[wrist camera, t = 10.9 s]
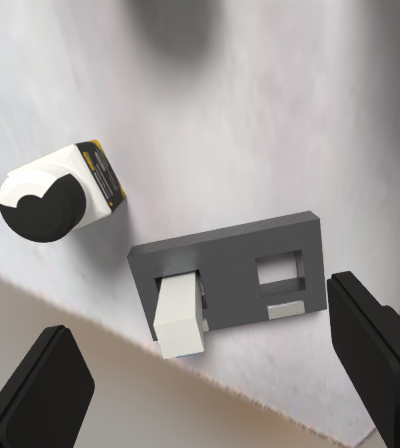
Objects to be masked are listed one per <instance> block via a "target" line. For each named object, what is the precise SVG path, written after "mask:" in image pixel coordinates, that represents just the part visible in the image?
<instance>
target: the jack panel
mask: <svg viewBox="0 0 400 448" xmlns="http://www.w3.org/2000/svg"><path fill="white" fill-rule="evenodd" d="M291 251H295V255H296V264H297V273H298V278H293V279H287V280H282V281H277V282H272V283H266V284H261V285H259V279H258V273H257V267H256V261H255V258H260V257H265V256H270V255H276V254H281V253H286V252H291ZM127 258H128V262H129V265H130V268H131V271H132V274H133V277H134V281H135V284H136V287H137V290H138V293H139V297H140V300H141V303H142V306H143V309H144V312H145V316H146V319H147V322H148V325H149V328H150V332H151V335H152V338H153V341H157V340H158V339H157V336H156V332H155V329H154V326H153V325H154V319H155V314H156V309H157V304H158V299H159V294H160V289H161V279H160V277H163V276H168V275H173V274H178V273H183V272H188V271H193V270H199V271H200V276H201V280H202V284H203V288H204V293H205V295H203V296H202V316H203V332H206V331H211V330H217V329H222V328H228V327H233V326H239V325H244V324H249V323H255V322H260V321H266V320H271V319H276V318H282V317H287V316H293V315H298V314H304V313H309V312H314V311H320V310H325V309H327V302H326V290H325V277H324V265H323V253H322V241H321V228H320V218H318V217H317V216H316V215H315V214H313V213H312V212H311V211H306V212H301V213H296V214H291V215H286V216H281V217H276V218H271V219H266V220H262V221H257V222H252V223H247V224H242V225H237V226H232V227H227V228H222V229H217V230H212V231H207V232H202V233H197V234H192V235H187V236H182V237H177V238H172V239H167V240H162V241H157V242H152V243H147V244H142V245H137V246H132V248H131V250H130V252H129V254H128V256H127Z"/></svg>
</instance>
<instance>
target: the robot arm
mask: <svg viewBox="0 0 400 448" xmlns="http://www.w3.org/2000/svg"><path fill="white" fill-rule="evenodd" d="M327 292H328V303H329V315H330V326H331V337H332V344H333V347H334V350H335V352H336V354H337V356H338V358H339V359H340V361H341V363H342V365H343V367H344V369H345V370H346V372H347V374H348V376H349V378H350V380H351V381H352V383H353V385H354V387H355V389H356V391H357V393H358V394H359V396H360V398H361V400H362V402H363V404H364V405H365V407H366V409H367V411H368V413H369V415H370V416H371V418H372V420H373V422H374V424H375V426H376V428H377V429H378V431H379V433H380V435H381V437H382V439H383V440H384V442H385V444H386V446H387V448H400V316H399V315H398V314H397V312H396V311H395V310H394V309H393V308H391V307H390V306H387V305H386V306H381V305H380V304H379V302H378V301H377V300H376V299H375V298H374V297H373V296H372V295H371V293H370V292H369V291H368V290H367V289H366V288H365V287H364V286H363V285H362V283H361V282H360V281H359V280H358V279H357V278H356V277H355V276H354V275H353V273H352V272H350V271H346V272H341V273H335V274H332V276H331V279H328V280H327ZM94 388H95V385H94V380H93V378H92V376H91V374H90V371H89V369H88V367H87V365H86V363H85V361H84V359H83V356H82V355H81V352H80V350H79V348H78V346H77V344H76V342H75V339H74V337H73V335H72V333H71V331H70V329H68V328H65V326H63V325H58V326H53V327H47V328H45V329H44V331H43V332H42V333H41V334H40V336H39V337H38V339H37V340H36V342H35V343H34V345H33V346H32V347H31V349H30V350H29V352H28V353H27V354H26V356H25V357H24V359H23V360H22V362H21V363H20V365H19V366H18V367H17V369H16V370H15V372H14V373H13V374H12V376H11V377H10V379H9V380H8V381H7V383H6V385H5V386H4V387H3V389H2V390H1V392H0V448H73V446H74V444H75V441H76V438H77V436H78V433H79V430H80V428H81V425H82V422H83V420H84V417H85V414H86V411H87V409H88V406H89V404H90V401H91V398H92V396H93V393H94Z"/></svg>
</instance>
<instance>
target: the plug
mask: <svg viewBox="0 0 400 448" xmlns="http://www.w3.org/2000/svg"><path fill="white" fill-rule="evenodd" d="M153 326H154V329H155V332H156V336H157V339H158V342H159V345H160V348H161V351H162V355H163V358H164V359H166V358H172V357H175V358H179V357H185V356H190V355H195V353H199V352H204V338H203V316H202V294H201V287H200V283H199V279H198V275H197V271H196V270H193V271H188V272H183V273H178V274H173V275H168V276H163V278H162V283H161V289H160V294H159V299H158V304H157V309H156V314H155V319H154V325H153Z"/></svg>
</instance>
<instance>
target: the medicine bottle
mask: <svg viewBox="0 0 400 448" xmlns="http://www.w3.org/2000/svg"><path fill="white" fill-rule="evenodd" d="M7 177H8V179H7V180H6V181H5V182H4V183H3V185H2V187H1V189H0V212H1V214H2V217H3V218H4V220H5V222H6V223H7V224H8V226H9V227H10V228H11V229H12V230H13V231H14V232H16V233H17V234H18V235H20V236H21V237H23V238H25V239H28V240H30V241H34V242H41V243H47V242H53V241H56V240H59V239H61V238H62V237H64V236H65V235H66V234H67V233H69V232H70V231H73V230H75V229H78V228H80V227H83V226H85V225H87V224H90V223H92V222H95V221H97V220H99V219H102V218H104V217H107V216H109V215H111V214H112V212H113V211H114V210H115V209H116V208H117V207H118V205H119V204H120V203H121V202H122V201H123V200H124V198H125V193H124V191H123V189H122V187H121V185H120V183H119V181H118V179H117V177H116V175H115V173H114V171H113V170H112V168H111V166H110V164H109V162H108V160H107V158H106V156H105V154H104V152H103V150H102V148H101V146H100V144H99V142H98V141H97V140H90V141H86V142H81V143H76V144H72V145H69V146H67V147H65V148H63V149H60V150H58V151H56V152H54V153H51V154H49V155H47V156H45V157H42V158H40V159H38V160H36V161H34V162H31V163H29V164H27V165H25V166H22V167H20V168H18V169H16V170H13V171H11V172H9V173H8V174H7Z"/></svg>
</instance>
